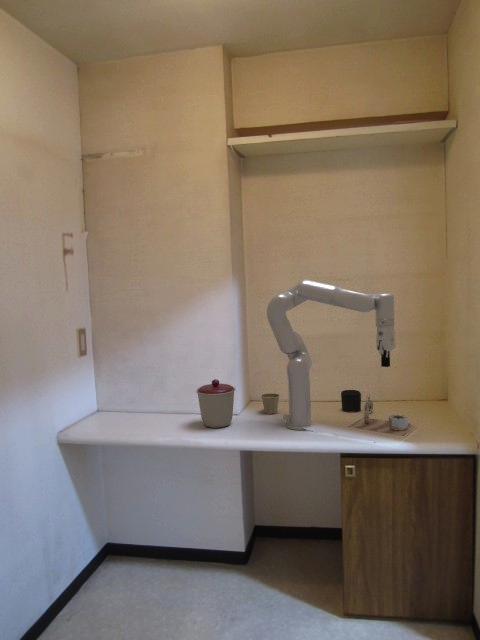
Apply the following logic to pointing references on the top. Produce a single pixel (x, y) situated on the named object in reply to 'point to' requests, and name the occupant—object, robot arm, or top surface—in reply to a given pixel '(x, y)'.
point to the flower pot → (270, 402)
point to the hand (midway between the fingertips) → (385, 366)
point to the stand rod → (366, 417)
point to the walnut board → (380, 426)
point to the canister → (216, 404)
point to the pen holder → (351, 401)
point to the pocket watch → (368, 405)
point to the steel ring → (398, 421)
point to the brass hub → (398, 429)
